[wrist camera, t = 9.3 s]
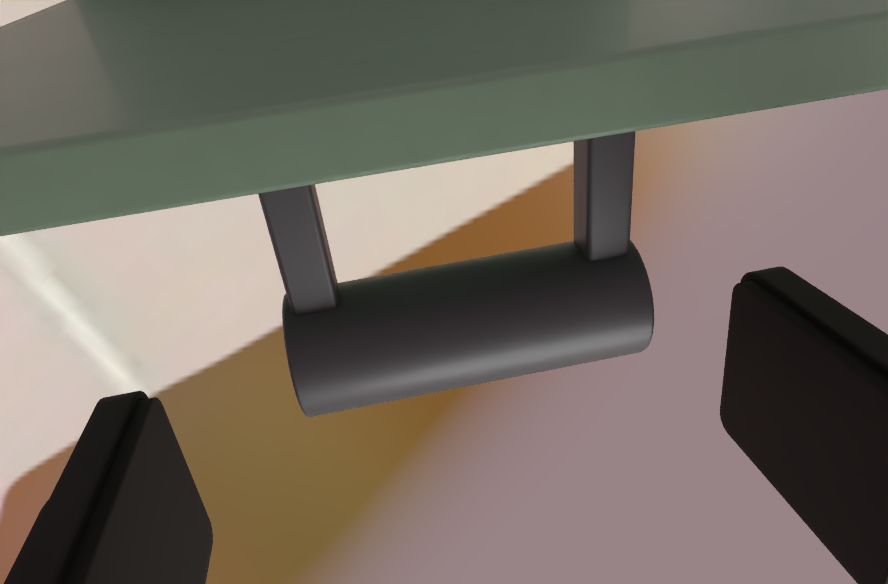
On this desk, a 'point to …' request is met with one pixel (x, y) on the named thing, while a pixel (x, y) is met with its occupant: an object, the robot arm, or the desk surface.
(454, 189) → the desk surface
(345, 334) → the chest lid
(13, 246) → the desk surface
